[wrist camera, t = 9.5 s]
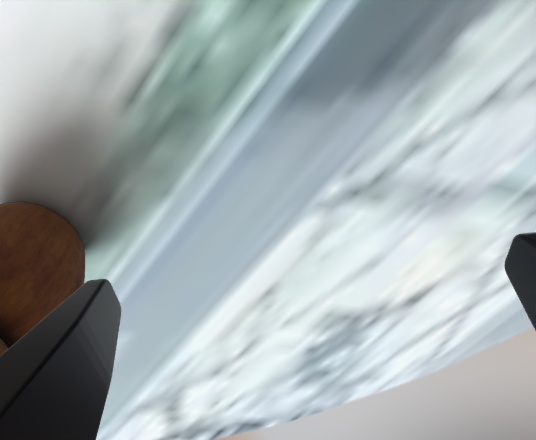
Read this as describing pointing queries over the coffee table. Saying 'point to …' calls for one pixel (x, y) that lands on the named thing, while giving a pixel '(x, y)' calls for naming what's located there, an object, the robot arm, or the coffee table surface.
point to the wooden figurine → (35, 267)
